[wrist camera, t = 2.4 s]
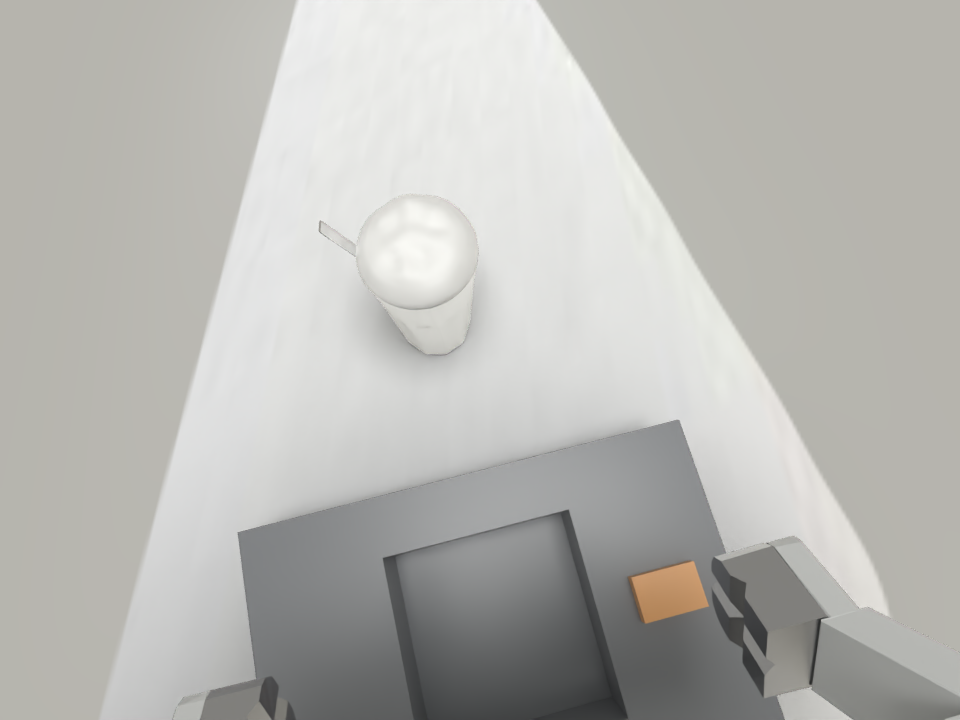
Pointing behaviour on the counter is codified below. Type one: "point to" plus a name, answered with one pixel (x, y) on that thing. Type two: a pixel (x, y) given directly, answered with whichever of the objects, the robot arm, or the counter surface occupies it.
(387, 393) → the counter surface
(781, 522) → the counter surface
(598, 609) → the dock
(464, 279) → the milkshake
